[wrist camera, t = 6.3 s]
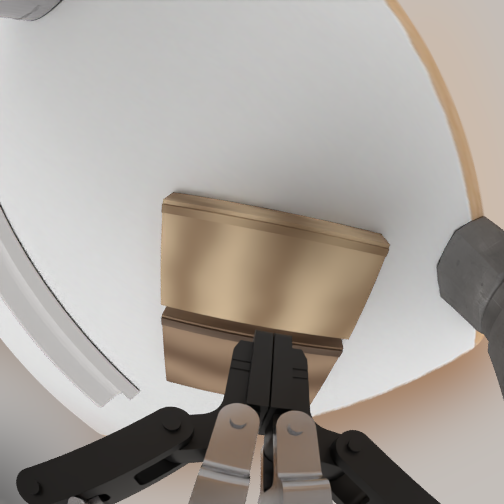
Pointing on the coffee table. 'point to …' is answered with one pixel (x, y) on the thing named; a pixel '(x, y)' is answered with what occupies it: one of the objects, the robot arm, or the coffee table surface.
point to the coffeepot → (477, 283)
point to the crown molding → (54, 325)
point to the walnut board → (230, 350)
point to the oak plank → (266, 266)
